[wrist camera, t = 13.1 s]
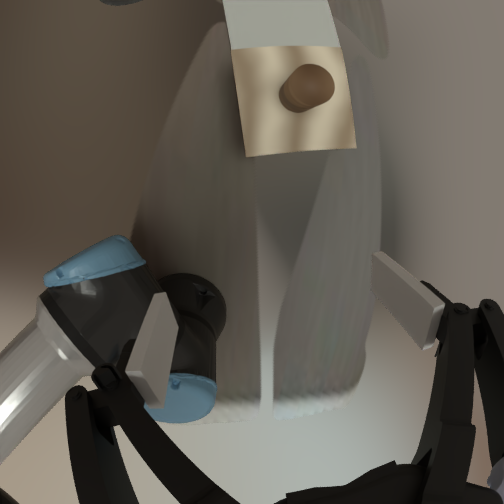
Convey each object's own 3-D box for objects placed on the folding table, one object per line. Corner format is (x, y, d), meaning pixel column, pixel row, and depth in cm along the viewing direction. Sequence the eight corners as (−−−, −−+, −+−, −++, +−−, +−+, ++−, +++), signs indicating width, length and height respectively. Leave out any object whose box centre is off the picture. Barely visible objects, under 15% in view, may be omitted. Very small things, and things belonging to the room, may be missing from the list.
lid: (245, 157, 32) (249, 159, 24) (230, 52, 26) (230, 27, 19) (353, 147, 32) (383, 150, 24) (338, 49, 27) (364, 29, 19)
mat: (233, 60, 34) (233, 59, 34) (218, -19, 27) (218, -21, 27) (340, 56, 35) (342, 55, 34) (318, -20, 28) (319, -22, 27)
